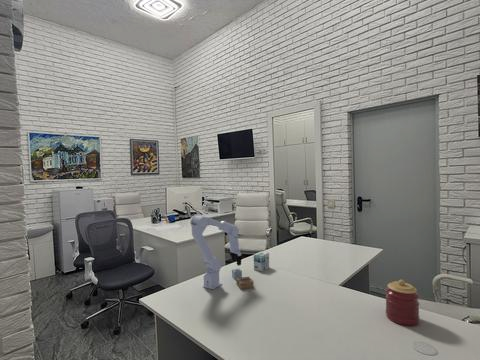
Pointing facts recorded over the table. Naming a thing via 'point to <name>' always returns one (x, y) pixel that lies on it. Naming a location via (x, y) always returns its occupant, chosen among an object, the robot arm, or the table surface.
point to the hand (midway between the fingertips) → (236, 263)
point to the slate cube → (236, 273)
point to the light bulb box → (261, 261)
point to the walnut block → (244, 283)
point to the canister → (402, 303)
